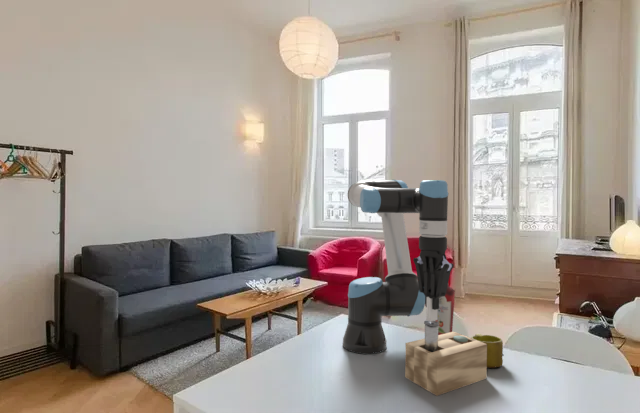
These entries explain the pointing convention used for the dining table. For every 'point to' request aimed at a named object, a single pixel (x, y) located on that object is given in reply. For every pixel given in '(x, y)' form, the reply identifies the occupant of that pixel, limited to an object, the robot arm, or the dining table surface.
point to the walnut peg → (460, 339)
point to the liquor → (446, 312)
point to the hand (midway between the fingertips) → (431, 319)
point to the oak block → (446, 363)
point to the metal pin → (431, 335)
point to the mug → (492, 349)
